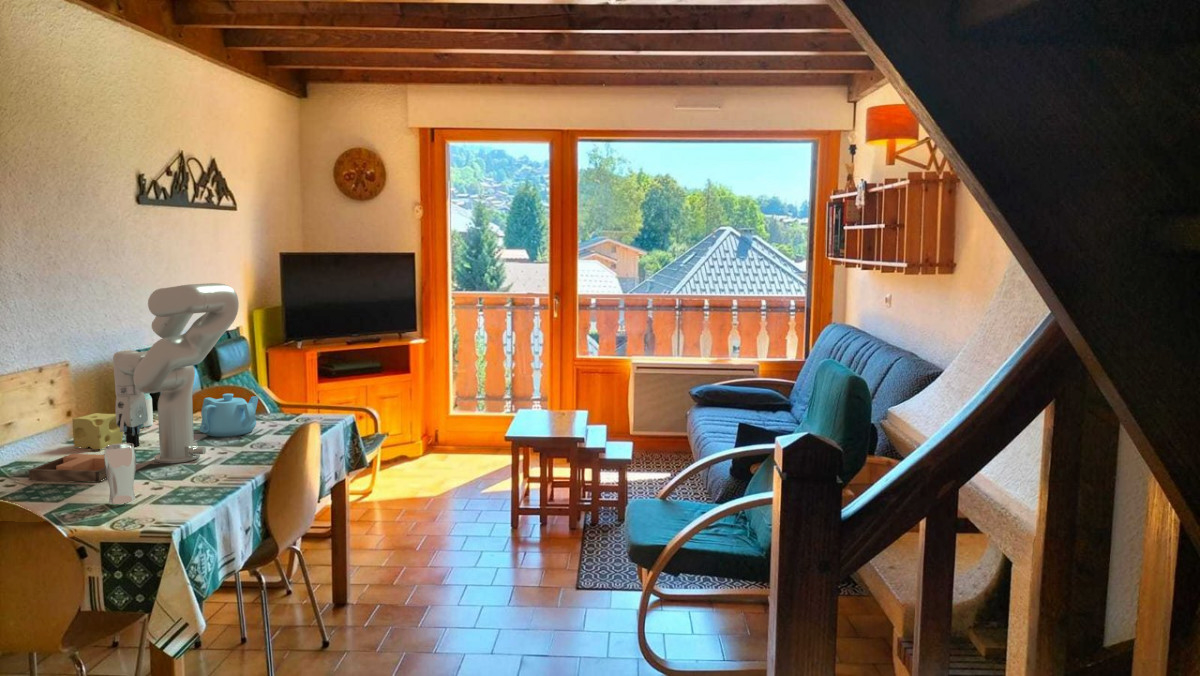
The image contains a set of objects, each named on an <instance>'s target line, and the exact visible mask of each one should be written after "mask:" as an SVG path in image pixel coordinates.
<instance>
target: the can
mask: <svg viewBox="0 0 1200 676" xmlns="http://www.w3.org/2000/svg"><path fill="white" fill-rule="evenodd" d="M143 393H144V392H143ZM150 394H151V393H144V396H145V400H146V406H147V414H148V420H147V422H145V423H143V425H142V426H141V427H140V429H143V428H142V427H146V428H149V427H148V426H150V427H151V426H153V425H154V416H153V415H154V413H153V398H152V396H151V395H150Z"/></svg>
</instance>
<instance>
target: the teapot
mask: <svg viewBox="0 0 1200 676" xmlns="http://www.w3.org/2000/svg"><path fill="white" fill-rule="evenodd" d="M258 403H259V396H254V395H253V396H251V397H250V399H249V401H248V402H247V401H246V399H244V398H242V397H234V393H224V394H222V398H221V397H220V398H213V397H210V396H209V397H205V398H204V399H203V403H202V407H201V412H200V415H201V422H200V426H199V431H200V432H201V433H203V434H205V435H207V436H209V437H215V438H229V437H237V436H244V435H247V434H249V432H250V433H251V432H252V431H253V430H254V429H255V428H256V426H257V417H256V410H257V407H258Z"/></svg>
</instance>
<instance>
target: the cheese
mask: <svg viewBox="0 0 1200 676" xmlns="http://www.w3.org/2000/svg"><path fill="white" fill-rule="evenodd" d="M72 436H73V437H72V439H73V445H74V448H75V447H81V448H80V449H89V448H88V447H91V448H93V449H92V450H95V449H101V450H103V449H102V448H104V449H105V447H106V446H108V445H112V444H119V443H123V438H124V437H123V436H124V432H120V427H118V426H117V424H116V413H99V412H95V413H91V414H86V415H84V416H79V417H74V418H72ZM91 448H90V449H91Z"/></svg>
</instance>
